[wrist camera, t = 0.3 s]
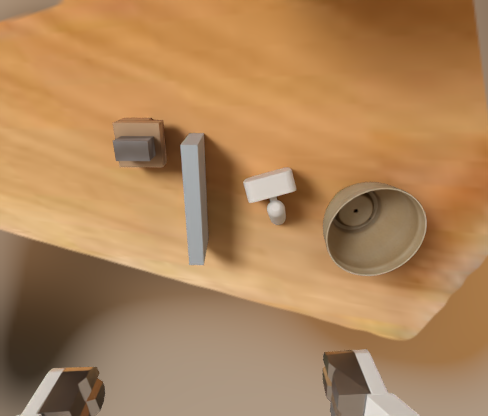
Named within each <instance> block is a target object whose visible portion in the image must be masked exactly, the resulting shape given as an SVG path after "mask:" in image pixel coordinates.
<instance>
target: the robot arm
mask: <svg viewBox="0 0 488 416" xmlns="http://www.w3.org/2000/svg"><path fill="white" fill-rule="evenodd" d="M323 361H324V365H325V367H324V368H323V384H324V389H325V393H326V397H327V399H328V400H329V401H330V402H331V405H330V412H331V416H420V415H419V414H418V413H416V412H415V411H414V410H413V409H412V408H410V407H409V406H408V405H407V404H406V403H404V402H403V401H402V400H401V399H400V398H398V397H397V396H396V395H395V394H393V393H388V391H387V389H386V387H385V384H384V382H383V380H382V378H381V376H380V374H379V372H378V370H377V367H376V365H375V363H374V361H373V359H372V357H371V354H370V352H369V351H368V350H367V349H366V350H346V351H334V352H333V351H332V352H324V355H323ZM98 376H99V371H98V369H97V367H78V368H77V367H76V368H53V369H52V370H51V371H49V372H48V373H47V375H46V377H45V378H44V380H43V381H42V383H41V385H40V386H39V388H38V389H37V391H36V392H35V394H34V395H33V397H32V398H31V400H30V402H29V403H28V405H27V406H26V408H25V409H24V411H23V413H22V414H21V415H17V416H96V415H97V414H98V413H99V412H100V410H101V408H102V405H103V402H104V397H105V386H104V384H103V381H101V380H99V379H98Z"/></svg>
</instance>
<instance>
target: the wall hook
mask: <svg viewBox="0 0 488 416" xmlns="http://www.w3.org/2000/svg"><path fill="white" fill-rule="evenodd" d="M243 183H244V187H245V191H246V194H247V198H248V201H249V203H252V202H257V201H261V200H264V199H268V198H269V199H270V203H269V204H268V206H267V212H268V215H269V217H270V220H271V222H272V223H273V224H275V225H281V224H283V223H284V222H285V220H286V212H285V206H284V204H283V203H282V202H281V201H278V200H277V197H276V196H279V195H283V194H287V193H291V192H293V191H296V190H297V189H296V185H295V181H294V177H293V173H292V169H290V168H289V167H286V168H282V169H278V170H274V171H271V172H267V173H263V174H260V175H256V176H252V177H249V178H246V179H245V180H244V182H243Z"/></svg>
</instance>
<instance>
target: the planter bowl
mask: <svg viewBox="0 0 488 416" xmlns="http://www.w3.org/2000/svg"><path fill="white" fill-rule="evenodd" d="M355 209H357V212H354V210H355ZM426 228H427V220H426V214H425V211H424V209H423V207H422V205H421V204H420V203H419V201H418V200H417V199H416V198H414V197H413V196H412V195H410V194H409V193H407V192H405V191H403V190H401V189H398V188H396V187H393V186H391V185H388V184H384V183H379V182H363V183H357V184H354V185H351V186H349V187H346V188H344V189H342V190H341V191H339V192H338V193H337V194H336V195H335V196H334V198H333V199H332V200H331V202H330V203H329V205H328V207H327V209H326V212H325V215H324V220H323V234H324V239H325V242H326V247H327V250H328V253H329V255H330V257H331V259H332V260H333V261H334V262H335V264H336V265H337V266H339V267H340V268H341V269H343V270H345V271H347V272H349V273H352V274H355V275H360V276H375V275H381V274H384V273H388V272H390V271H392V270H395V269H396V268H398V267H400V266H402V265H403V264H404V263H406V262H407V261H408V260H409V259H410V258H411V257H412V256H413V255H414V254H415V253H416V252H417V250H418V249H419V247H420V246H421V244H422V242H423V239H424V237H425V233H426Z"/></svg>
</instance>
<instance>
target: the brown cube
mask: <svg viewBox="0 0 488 416" xmlns="http://www.w3.org/2000/svg"><path fill="white" fill-rule="evenodd" d="M113 128H114V134H115V140H113V145H114V151H115V157H116V161H119V165H120V167H164V166H165V164H166V163H167V156H166V146H165V135H164V125H163V120H152V118H123V119H121V120H118V121H116V122H113Z"/></svg>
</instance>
